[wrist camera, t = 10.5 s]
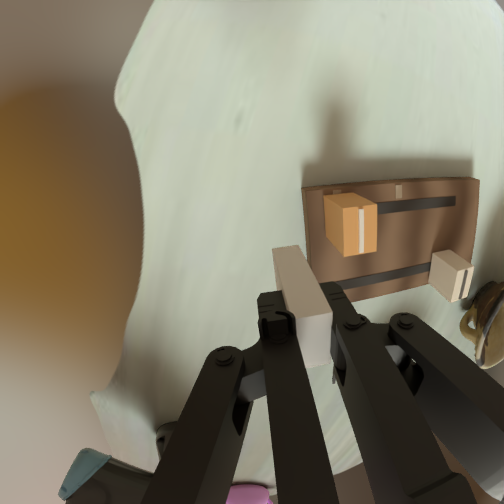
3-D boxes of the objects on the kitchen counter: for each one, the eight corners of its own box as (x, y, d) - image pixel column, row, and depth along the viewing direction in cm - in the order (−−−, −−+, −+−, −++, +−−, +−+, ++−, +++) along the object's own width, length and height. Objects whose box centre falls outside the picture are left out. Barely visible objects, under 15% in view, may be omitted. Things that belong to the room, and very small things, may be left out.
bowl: (516, 239, 30) (551, 261, 21) (498, 319, 37) (524, 344, 28) (458, 266, 31) (499, 298, 22) (440, 352, 38) (466, 387, 29)
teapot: (215, 479, 53) (215, 511, 43) (283, 483, 56) (287, 513, 46) (204, 490, 57) (203, 517, 48) (264, 495, 61) (266, 521, 51)
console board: (309, 300, 31) (313, 310, 29) (301, 187, 26) (306, 191, 24) (460, 266, 31) (469, 272, 29) (469, 177, 26) (480, 180, 24)
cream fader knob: (428, 282, 29) (451, 303, 24) (432, 253, 27) (458, 272, 22) (444, 277, 29) (468, 297, 24) (449, 249, 27) (475, 266, 22)
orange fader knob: (325, 236, 26) (344, 257, 21) (323, 195, 24) (343, 208, 19) (354, 232, 26) (377, 252, 21) (353, 192, 24) (378, 204, 19)
